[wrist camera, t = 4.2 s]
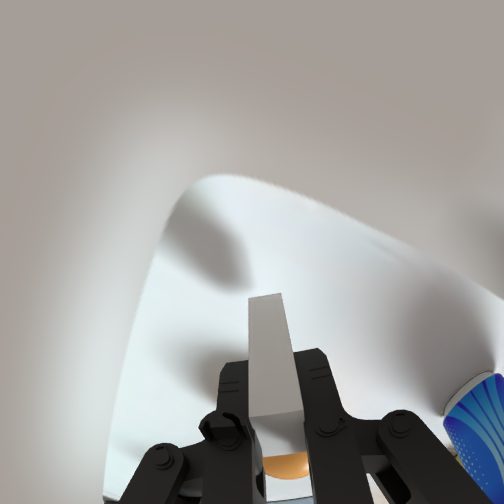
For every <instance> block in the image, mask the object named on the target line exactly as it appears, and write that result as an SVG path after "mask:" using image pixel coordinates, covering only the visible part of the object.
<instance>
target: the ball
mask: <svg viewBox="0 0 504 504" xmlns="http://www.w3.org/2000/svg"><path fill="white" fill-rule="evenodd" d="M262 459H263V466H264V470H265V474H267V475H269V476H271V477H274V478H278V479H286V480H290V479H298V478H302V477H305V476H307V475H310V473H309V467H308V457H307V451H305V452H299V453H293V454H286V455H278V456H270V457H263V454H262Z"/></svg>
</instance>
